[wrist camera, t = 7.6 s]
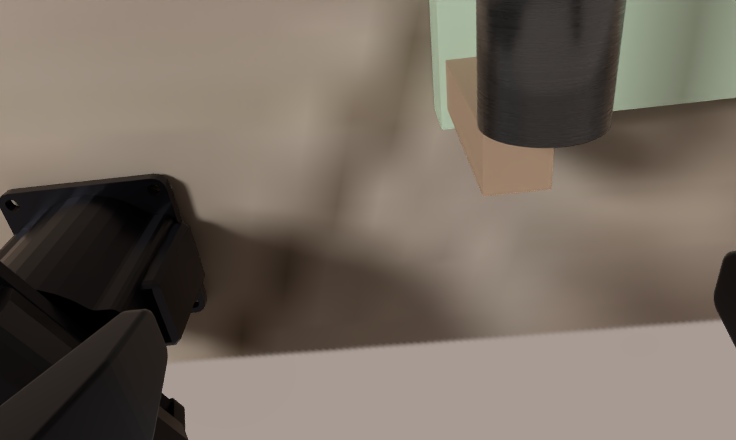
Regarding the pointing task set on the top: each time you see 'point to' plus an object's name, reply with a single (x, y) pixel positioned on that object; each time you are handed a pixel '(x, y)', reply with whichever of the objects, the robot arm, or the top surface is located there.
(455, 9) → the foosball frame
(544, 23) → the rod
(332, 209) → the top surface
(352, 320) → the top surface
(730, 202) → the top surface
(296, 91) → the top surface
